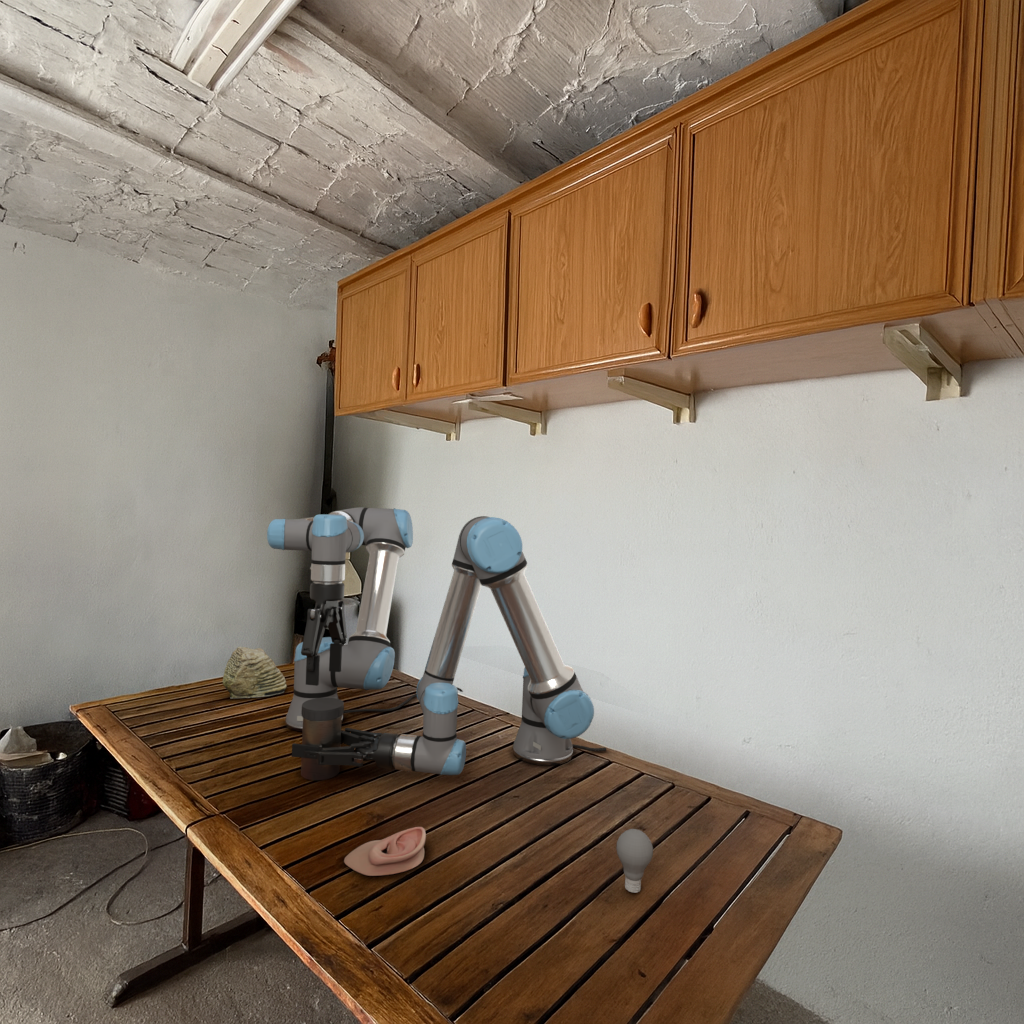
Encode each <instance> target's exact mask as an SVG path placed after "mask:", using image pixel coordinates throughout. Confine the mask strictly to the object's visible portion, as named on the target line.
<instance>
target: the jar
mask: <svg viewBox="0 0 1024 1024" xmlns="http://www.w3.org/2000/svg"><path fill="white" fill-rule="evenodd" d="M341 721H342V716H340V717H338V718H336V719H332V720H326V721H313V720H307V719H305V718H303V732H301V733H302V736H301V737H302V738H301V739H302V740H301V744H305V745H315V746H320V745H322V748H332V747H342V746H341V745H342V744H341V730H342V723H341ZM300 761H301V763H300V764H301V765H300V768H301V769H300V775H301V777H302V778H303V779H306V780H309V781H325V780H330V779H332V778H334V777H336V776H337V775H339V773H340V769H341V765H318V759H310V758H301V760H300Z"/></svg>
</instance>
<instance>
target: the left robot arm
mask: <svg viewBox="0 0 1024 1024" xmlns="http://www.w3.org/2000/svg"><path fill="white" fill-rule="evenodd" d="M413 529H414V528H413V520H412V516H411V514H410V512H409V511H408V510H406V509H401V508H399V509H398V508H394V507H393V508H382V507H364V506H361V507H358V506H357V507H351V508H346V509H341V510H335V511H331V512H329V513H328V514H327V513H326V514H325V513H323V514H321V513H319V514H316V515H315V516H312V517H311V516H310V517H303V518H295V519H294V518H293V519H290V518H274V519H272V520H271V521H270V523H269V525H268V527H267V530H266V540H267V543H268V546H269V547H270V548H271V549H273V550H282V551H304V552H305V551H307V552H308V551H309V552H311V561H310V562H311V565H310V567H309V570H310V581H312V582H311V583H310V586H309V597H310V599H311V600H312V601H315V605H314V608H308V609H307V612H306V624H305V630H304V635H303V640H302V642H300V643H298V644H297V645H296V647H295V654H294V659H293V661H294V670H293V671H294V672H293V695H292V696H293V697H292V699H291V702H290V704H289V708H288V711H287V713H286V715H285V726H286V728H287V729H289V730H291V731H294V732H295V731H296V732H301V733H303V717H302V714H301V711H302V704H303V703H304V702H305V701H308V700H311V699H315V698H336V699H339V695H338V688H340V689H355V690H356V689H357V690H365V691H370V690H375V691H376V690H377V691H378V690H382V689H383V688H385V686H387V684H388V683H389V681H390V678H391V677H392V673H393V671H394V666H395V657H396V653H395V649H394V648H393V647H392V646H391V641H390V639H389V638H388V637H387V633H388V625H389V621H390V620H389V619H390V614H391V608H392V603H393V602H392V601H393V595H394V590H395V583H396V577H397V571H398V565H399V559H400V558H402V557H404V556H405V553H406V549H410V548H412V546H413V544H414V543H413V542H414V530H413ZM361 546H365V550H366V552H367V553H368V554H369V557H368V563H367V568H366V573H365V580H364V584H363V589H362V595H361V599H360V605H359V612H358V616H357V623H356V627H355V632H354V633H353V634H351V635H350V636H348V633H347V625H346V616H345V601H344V600H343V599H344V598H345V586H346V585H345V583H344V581H345V580H346V556H347V553H353V552H355V551H356V550H358V549H359V548H360V547H361ZM326 629H328V633H329V636H325V637H324V634H325V631H326ZM347 638H348V640H347ZM456 688H457V690H458V692H460V693H463V692H464V690H463V689H462V688H460V687H457V686H456ZM415 697H416V698H417V693H415V694H412V695H411V696H410V697H408V698H407V699H406V700H404V701H403V702H401V703H400V704H398V705H397V706H394V707H391V708H359V709H357V708H356V709H348V710H347V709H346V710H344V713H343V715H342V721H341V724H342V723H343V722H344V714H352V713H361V712H362V713H363V712H364V713H365V712H374V713H375V712H376V713H377V712H378V713H379V712H380V713H381V712H382V713H383V712H385V713H386V712H392V711H395V710H398V709H400V708H401V707H402V706H404V705H405V704H407V703H408V702H410V701H411V700H412V699H413V698H415Z"/></svg>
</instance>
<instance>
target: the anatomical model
mask: <svg viewBox="0 0 1024 1024" xmlns="http://www.w3.org/2000/svg"><path fill="white" fill-rule="evenodd" d="M426 839H427V834H426V829H425V827H423V826H415V827H411V828H407V829H404V830H401V831H398V832H396V833H394V834H392V835H389V836H387V837H385V838H383V839H376V840H370V841H368V842H365V843H363V844H361V845H359V846H357V847H356V848H355V849H353V850H352V851H350V852H349V853H348V854H347V855H346V856H345V857H344V859H343V863H344V865H346V866H347V867H348V868H350V869H352V870H353V871H355V872H356V873H359V874H361V875H364V876H369V877H377V876H389V875H394V874H395V875H396V874H399V873H403V872H407V871H409V870H412V869H414V868H416V867H418V866H419V865H421V863H422V862H423V860H424V859H425V848H424V846H425V844H426Z"/></svg>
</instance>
